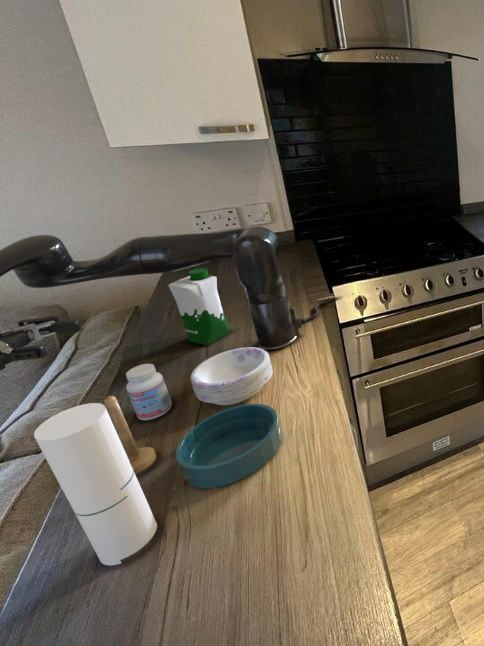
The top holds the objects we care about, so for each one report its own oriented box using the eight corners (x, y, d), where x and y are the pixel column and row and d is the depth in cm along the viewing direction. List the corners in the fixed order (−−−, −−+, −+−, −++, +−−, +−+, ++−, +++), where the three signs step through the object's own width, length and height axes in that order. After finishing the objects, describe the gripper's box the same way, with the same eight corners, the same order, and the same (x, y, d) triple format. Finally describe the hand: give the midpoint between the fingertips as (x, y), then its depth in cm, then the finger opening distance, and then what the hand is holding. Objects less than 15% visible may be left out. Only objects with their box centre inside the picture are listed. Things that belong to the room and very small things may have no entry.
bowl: (255, 413, 97) (250, 393, 95) (299, 443, 89) (294, 422, 87) (168, 466, 84) (159, 444, 82) (210, 506, 76) (202, 483, 74)
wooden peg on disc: (150, 450, 88) (122, 383, 82) (162, 462, 85) (134, 393, 79) (114, 470, 83) (81, 400, 77) (126, 483, 80) (93, 412, 74)
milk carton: (235, 331, 128) (218, 269, 121) (205, 348, 120) (184, 283, 113) (213, 326, 131) (194, 265, 124) (182, 342, 123) (160, 278, 115)
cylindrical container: (169, 520, 74) (119, 402, 65) (134, 564, 67) (72, 440, 58) (125, 521, 74) (69, 403, 65) (86, 566, 67) (17, 441, 58)
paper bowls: (280, 366, 113) (273, 340, 110) (269, 405, 100) (261, 376, 97) (210, 379, 108) (201, 352, 105) (189, 422, 95) (179, 393, 92)
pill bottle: (131, 423, 94) (114, 381, 90) (147, 404, 100) (131, 363, 96) (165, 418, 96) (148, 376, 92) (178, 399, 101) (163, 359, 97)
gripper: (-105, 355, 69) (22, 342, 73) (-23, 311, 82) (82, 301, 86) (-81, 393, 72) (40, 378, 76) (-5, 345, 85) (95, 334, 88)
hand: (62, 337), depth 81 cm, fingers open, 8 cm apart
